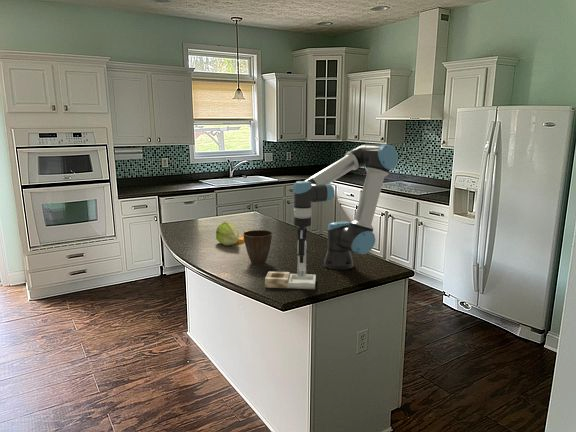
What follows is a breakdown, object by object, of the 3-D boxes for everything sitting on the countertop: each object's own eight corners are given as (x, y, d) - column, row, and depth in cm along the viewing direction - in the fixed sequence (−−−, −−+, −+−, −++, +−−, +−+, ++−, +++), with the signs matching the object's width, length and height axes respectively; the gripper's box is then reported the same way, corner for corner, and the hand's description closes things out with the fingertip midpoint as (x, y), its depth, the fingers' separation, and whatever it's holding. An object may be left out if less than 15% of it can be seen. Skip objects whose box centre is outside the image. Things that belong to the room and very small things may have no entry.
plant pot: (238, 264, 222) (237, 234, 218) (255, 257, 234) (254, 228, 231) (261, 268, 214) (261, 238, 211) (277, 261, 226) (277, 232, 223)
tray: (315, 279, 199) (315, 274, 198) (314, 289, 187) (314, 283, 186) (290, 278, 200) (290, 273, 199) (287, 288, 188) (287, 282, 188)
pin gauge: (306, 273, 194) (306, 239, 191) (305, 276, 190) (306, 242, 187) (297, 273, 195) (297, 239, 191) (296, 276, 191) (297, 241, 188)
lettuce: (226, 252, 243) (224, 229, 240) (214, 243, 263) (212, 222, 259) (247, 248, 249) (245, 225, 246) (233, 239, 268) (232, 218, 265)
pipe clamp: (235, 245, 259) (235, 234, 257) (231, 243, 262) (231, 233, 260) (251, 241, 267) (250, 231, 266) (246, 240, 270) (246, 230, 269)
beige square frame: (289, 280, 198) (289, 272, 197) (287, 288, 188) (287, 279, 187) (268, 279, 199) (268, 271, 198) (265, 287, 189) (264, 278, 188)
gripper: (295, 212, 196) (295, 261, 200) (292, 220, 179) (291, 273, 184) (311, 213, 195) (311, 262, 200) (310, 220, 178) (309, 274, 183)
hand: (301, 267), depth 192 cm, fingers closed on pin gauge, 4 cm apart
